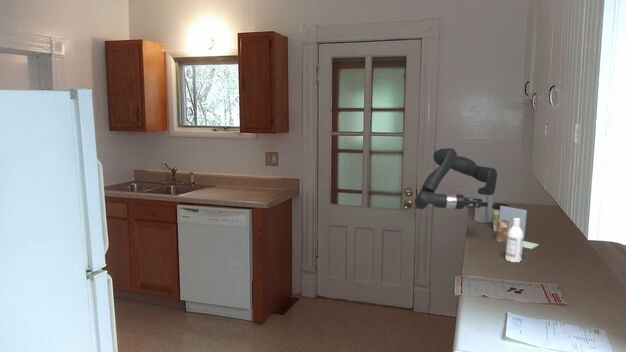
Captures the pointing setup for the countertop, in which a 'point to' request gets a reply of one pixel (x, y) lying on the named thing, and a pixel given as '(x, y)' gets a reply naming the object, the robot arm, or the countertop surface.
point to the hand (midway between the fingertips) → (484, 202)
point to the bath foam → (514, 242)
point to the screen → (512, 213)
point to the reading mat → (529, 245)
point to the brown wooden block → (501, 231)
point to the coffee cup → (497, 213)
